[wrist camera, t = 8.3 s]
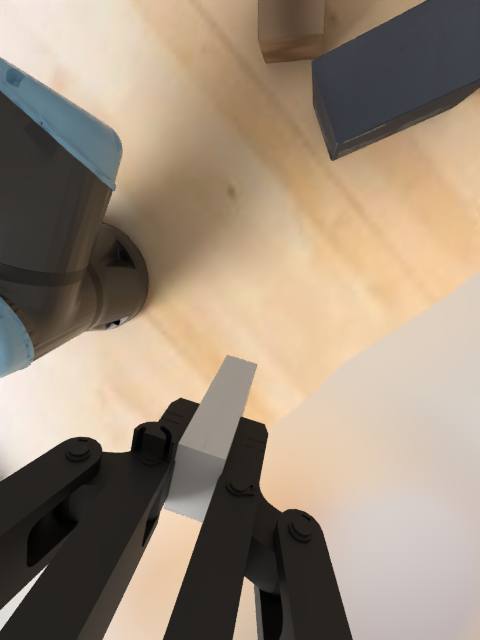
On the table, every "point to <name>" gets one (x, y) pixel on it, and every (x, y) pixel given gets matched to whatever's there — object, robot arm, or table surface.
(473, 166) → the table surface
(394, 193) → the table surface
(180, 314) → the table surface
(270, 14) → the walnut cube
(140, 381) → the table surface
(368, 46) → the small box
